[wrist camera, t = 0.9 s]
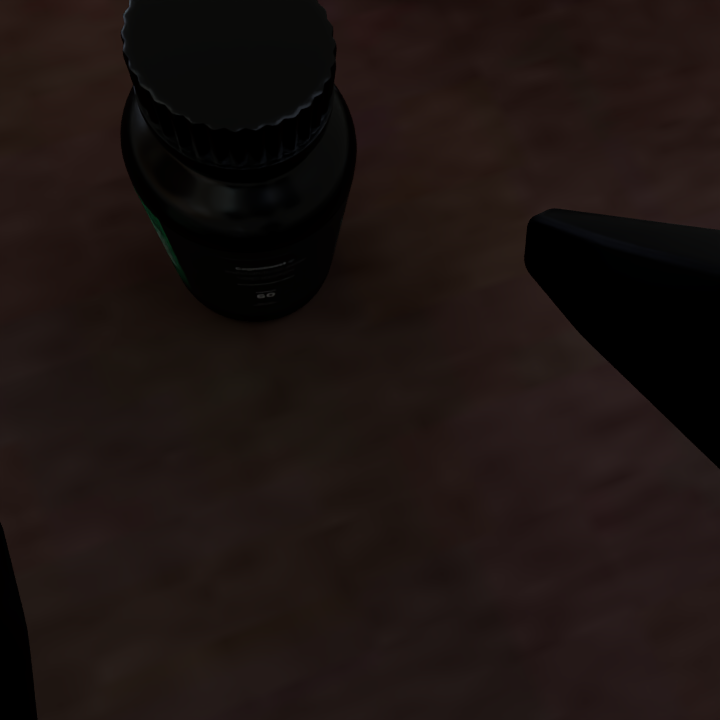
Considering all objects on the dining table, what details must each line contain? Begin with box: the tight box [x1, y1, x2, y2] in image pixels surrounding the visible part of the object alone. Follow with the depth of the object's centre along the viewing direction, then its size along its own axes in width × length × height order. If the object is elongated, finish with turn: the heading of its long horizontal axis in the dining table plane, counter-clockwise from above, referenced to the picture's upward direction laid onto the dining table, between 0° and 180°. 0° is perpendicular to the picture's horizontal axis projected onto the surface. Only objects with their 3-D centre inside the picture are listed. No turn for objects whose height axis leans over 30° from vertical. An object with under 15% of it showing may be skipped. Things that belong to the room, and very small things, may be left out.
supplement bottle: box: [120, 0, 357, 322], centre depth 18 cm, size 7×7×12 cm
